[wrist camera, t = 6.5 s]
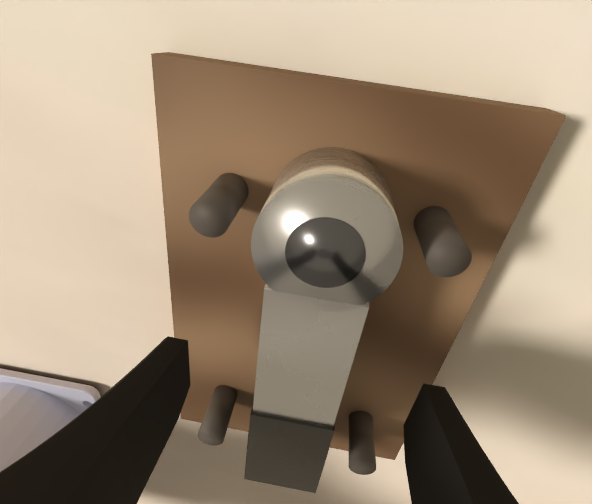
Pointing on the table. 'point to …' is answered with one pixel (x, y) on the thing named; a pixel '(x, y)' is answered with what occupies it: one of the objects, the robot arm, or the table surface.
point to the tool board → (406, 199)
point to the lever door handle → (314, 304)
